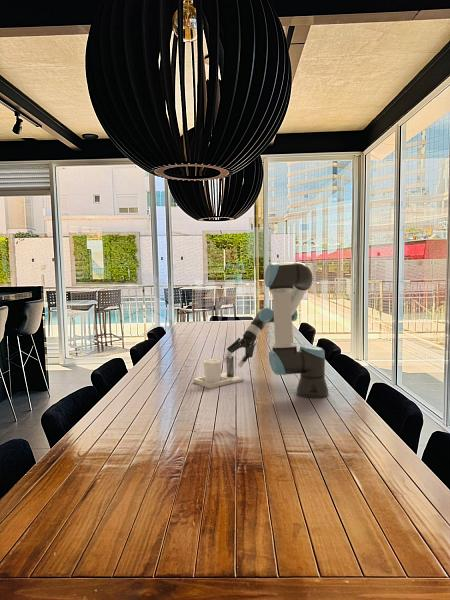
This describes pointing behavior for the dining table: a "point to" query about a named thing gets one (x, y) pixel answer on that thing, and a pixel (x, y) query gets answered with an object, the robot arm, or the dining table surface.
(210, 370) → the candle holder
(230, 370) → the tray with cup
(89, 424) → the dining table surface
